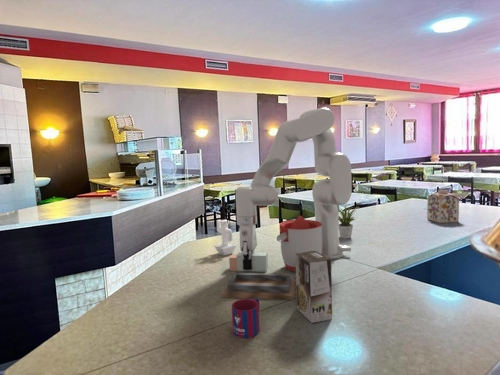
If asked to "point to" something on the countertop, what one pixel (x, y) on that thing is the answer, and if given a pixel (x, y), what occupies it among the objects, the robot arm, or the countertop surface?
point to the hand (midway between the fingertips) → (248, 266)
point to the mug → (246, 317)
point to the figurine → (225, 238)
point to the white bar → (257, 261)
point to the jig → (260, 286)
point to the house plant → (346, 223)
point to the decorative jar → (443, 207)
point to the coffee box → (314, 286)
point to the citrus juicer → (299, 239)
